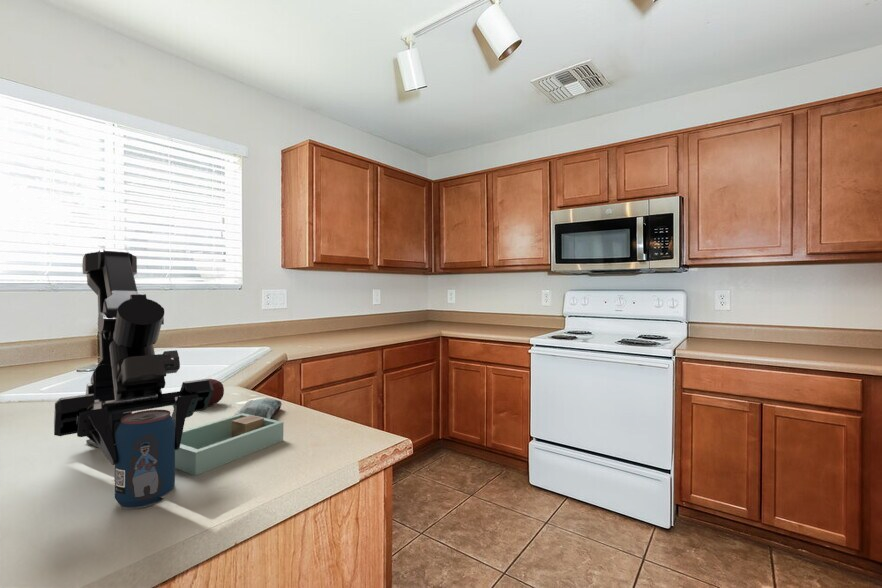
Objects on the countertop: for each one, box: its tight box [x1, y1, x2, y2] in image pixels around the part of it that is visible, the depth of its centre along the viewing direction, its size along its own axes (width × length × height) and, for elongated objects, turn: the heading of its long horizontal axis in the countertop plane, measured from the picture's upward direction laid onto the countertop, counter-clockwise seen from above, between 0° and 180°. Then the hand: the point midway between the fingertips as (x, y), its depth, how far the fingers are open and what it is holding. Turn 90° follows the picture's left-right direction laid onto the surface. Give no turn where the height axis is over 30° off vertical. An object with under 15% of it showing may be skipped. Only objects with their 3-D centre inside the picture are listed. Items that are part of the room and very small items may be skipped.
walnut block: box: [232, 415, 264, 438], centre depth 77 cm, size 4×4×4 cm
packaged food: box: [233, 397, 282, 420], centre depth 92 cm, size 9×12×5 cm
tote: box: [175, 413, 284, 476], centre depth 73 cm, size 12×17×4 cm
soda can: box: [114, 409, 176, 510], centre depth 57 cm, size 7×7×12 cm
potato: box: [206, 378, 225, 407], centre depth 104 cm, size 7×8×7 cm
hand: (147, 455), depth 56 cm, fingers closed on soda can, 7 cm apart
